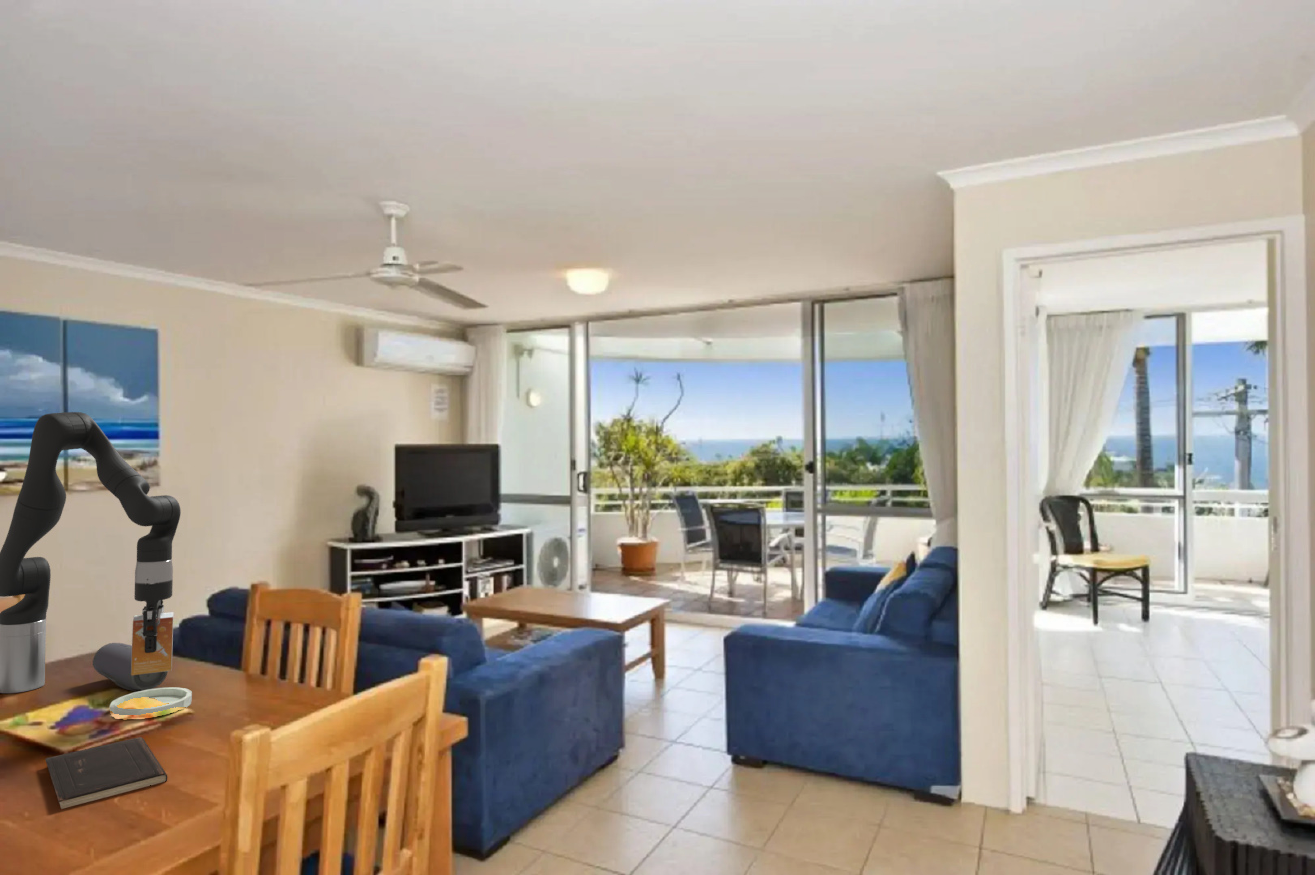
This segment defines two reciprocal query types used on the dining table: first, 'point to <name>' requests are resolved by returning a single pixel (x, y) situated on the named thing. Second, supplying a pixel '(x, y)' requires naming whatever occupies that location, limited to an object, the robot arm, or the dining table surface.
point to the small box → (163, 653)
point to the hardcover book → (104, 771)
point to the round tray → (165, 695)
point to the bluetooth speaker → (124, 668)
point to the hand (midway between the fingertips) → (152, 648)
